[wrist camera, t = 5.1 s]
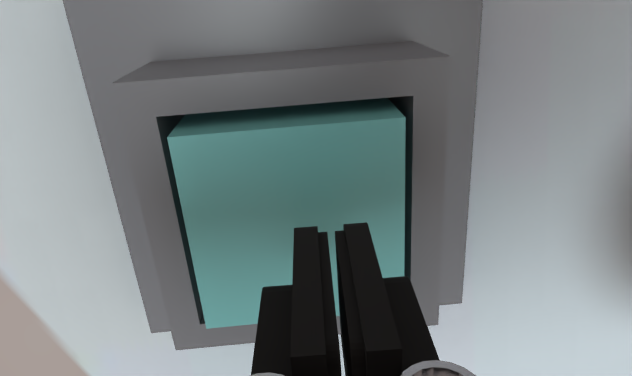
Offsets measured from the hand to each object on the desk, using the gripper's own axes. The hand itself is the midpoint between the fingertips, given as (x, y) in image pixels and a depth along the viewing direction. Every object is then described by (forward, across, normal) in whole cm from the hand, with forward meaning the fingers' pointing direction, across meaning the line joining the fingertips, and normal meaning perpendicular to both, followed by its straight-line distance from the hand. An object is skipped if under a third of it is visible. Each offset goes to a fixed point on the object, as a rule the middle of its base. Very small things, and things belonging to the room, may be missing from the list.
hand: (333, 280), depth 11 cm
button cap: (+7, +1, 0) cm, 7 cm away
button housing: (+9, +1, 0) cm, 9 cm away
